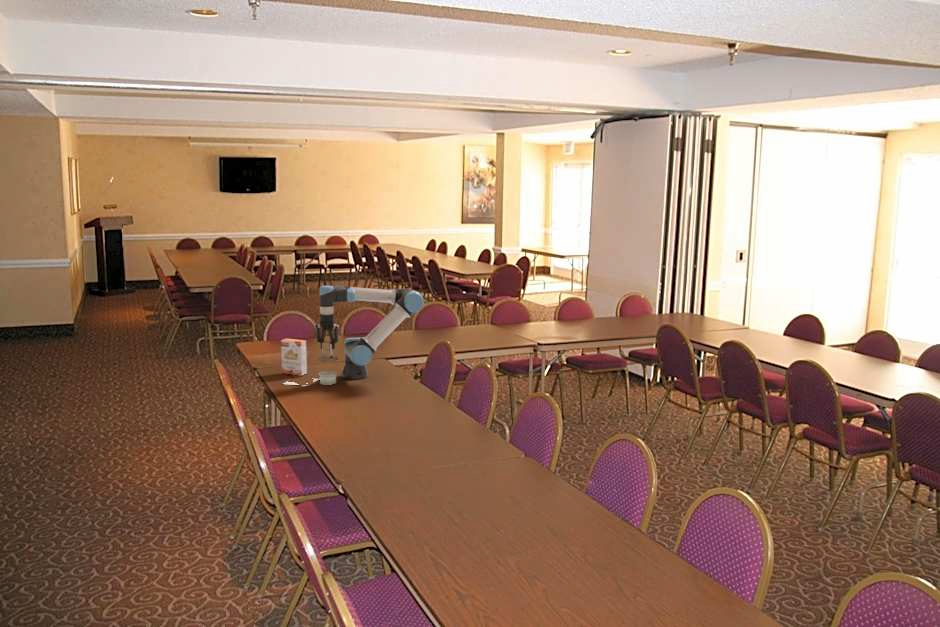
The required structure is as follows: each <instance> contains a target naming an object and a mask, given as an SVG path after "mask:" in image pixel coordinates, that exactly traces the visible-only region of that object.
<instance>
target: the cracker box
mask: <svg viewBox="0 0 940 627" xmlns="http://www.w3.org/2000/svg"><path fill="white" fill-rule="evenodd" d="M280 344H281V345H280V347H281V349H280V350H281V351H280V352H281V353H280V354H281V355H280V356H281V374H282V373H286V374H294V375H304V374H307V375H308V364H307V363H308V361H307V359H308V358H307V356H308V355H307V340H306V339H305V340H304V339H297V338H295V339H293V338H283V339H281V340H280ZM286 374H285V375H286ZM294 375H293V376H294ZM304 376H305V375H304Z"/></svg>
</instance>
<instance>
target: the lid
mask: <svg viewBox="0 0 940 627" xmlns="http://www.w3.org/2000/svg"><path fill="white" fill-rule="evenodd" d="M330 344H331V340H324V342H322V345H323V355H320V356H318V357H317V360H318V361H319V362H324V363H325V362H329V363H330V362H331V363H332V362H335V361H338V360H339V357H338V355H334V354H333V355H332V356H330Z"/></svg>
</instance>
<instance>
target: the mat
mask: <svg viewBox="0 0 940 627" xmlns="http://www.w3.org/2000/svg"><path fill="white" fill-rule="evenodd" d="M313 379H314V380H313V382H316V381H318V380H320V378H313ZM288 381H289V380H287V381H285V382H283V383H282V384H284V385H283V386H291V385H299V384H297V383H295V382H288ZM318 382H319V381H318ZM316 383H317V382H316ZM306 384H308V383H306ZM305 386H307V385H302V386H301V387H305Z"/></svg>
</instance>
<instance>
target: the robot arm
mask: <svg viewBox="0 0 940 627" xmlns="http://www.w3.org/2000/svg"><path fill="white" fill-rule="evenodd" d="M318 295H319V323H317V324H315V329H316V341H317V343H319V344H320V349H321V350H322V351H321V354H322V355H321V356H323V345H322V342H324V341H325V337H326V333H327V332H328V334H329V339H330V340H329V341H331V344H330V356H332V355H333V356H334V350H335V346H336V345H335V344H336V343H338V342H339V328H340V325H339V324H335V321H334V320H335V316H334V314H335V313H334V312H335V309H334V306H335V305H334V304H335V303H336V304H337V303H354V302H355V301H358V302H359V301H360V302H361V301H363V302H375V303H384V304H385V303H387V304H391V305H393V306H394V308H393V309H391V311H390V312H389V313H388V314H387V315H386V316H385V317H384V318H383V319H382V320H381V321H380V322H379V323H378V324H377V325H376V326H375V327H374V328H373V329H371V331H370V332H369V333H368V334H367V335H366V336H362V337H347V338H345V339H344V343H343V344H344V345H343V346H344V365H343V368H342V371H341V378H343V379H345V378H347V380H361V378H363V379H366V378H368V377H369V372H368V369H367V366H366V365H368V363H370V362H371V361H372V358H373V355H374V354H375V353H376V352H377V347H379V346H380V345H381V344H382V342H384V340H386V338H388V336H389V335H390V334H392V333H393V331H394V330H396V328H398V326H399V325H401V323H402V322H404V321H405V319H406V318H411V317H412V316H413V315H414V314H415V313H418V312H420V311H422V309H423V308H424V304H425V302H424V301H425V300H424V297H423V296H422V294H421V293H420V292H418V291H416V290H414V289H411V288H392V289H380V288H369V287H359V286H358V287H355V286H344V285H339V284H338V285H335V286H333V285H321V286H320V287H319V294H318ZM333 329H334V330H333ZM326 331H327V332H326Z"/></svg>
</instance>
